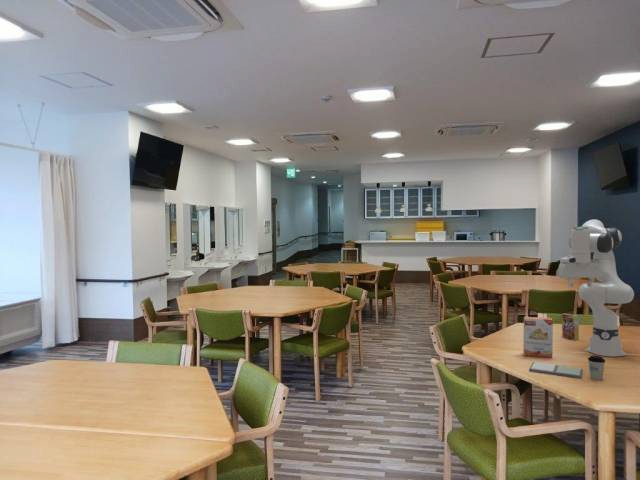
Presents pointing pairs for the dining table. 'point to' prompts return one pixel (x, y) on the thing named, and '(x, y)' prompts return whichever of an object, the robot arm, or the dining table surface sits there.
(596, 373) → the coffee cup
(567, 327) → the candy box
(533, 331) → the cracker box
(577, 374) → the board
